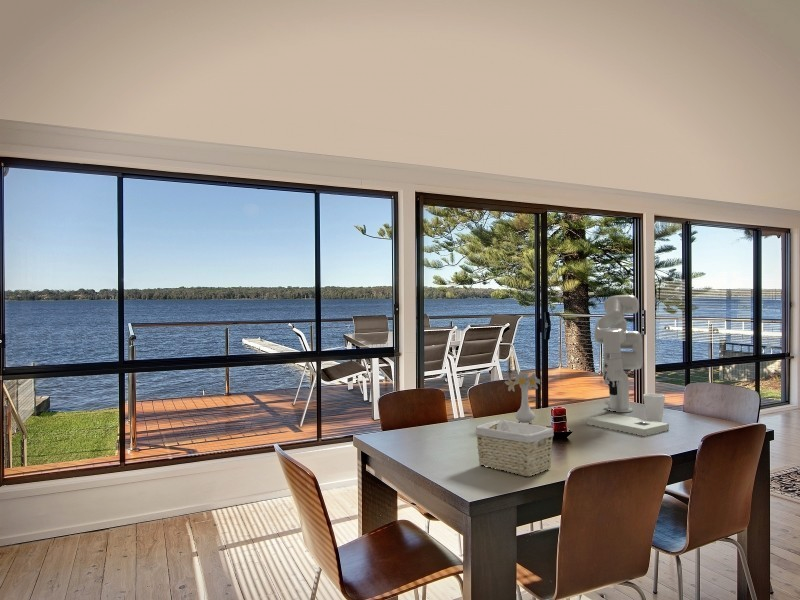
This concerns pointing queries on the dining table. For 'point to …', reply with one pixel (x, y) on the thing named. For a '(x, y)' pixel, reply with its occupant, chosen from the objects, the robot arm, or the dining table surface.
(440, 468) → the dining table surface
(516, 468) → the storage basket
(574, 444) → the dining table surface
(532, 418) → the flower vase
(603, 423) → the hole board
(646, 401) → the foam cup
